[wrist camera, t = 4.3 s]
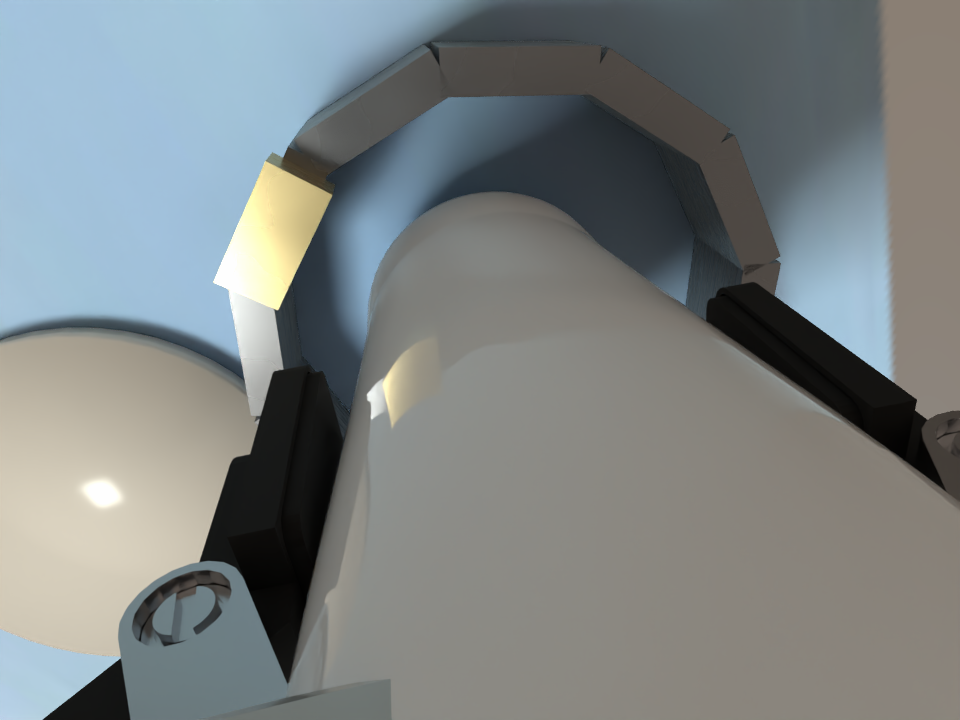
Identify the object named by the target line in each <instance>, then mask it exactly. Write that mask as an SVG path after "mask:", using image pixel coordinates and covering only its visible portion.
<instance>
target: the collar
mask: <svg viewBox="0 0 960 720" xmlns="http://www.w3.org/2000/svg"><path fill="white" fill-rule="evenodd" d="M430 44H431V50H430V49H429V48H427V47H426V46H425V45H424V44H422V45H421V46H419V47H418V48H416V49H415V50H413V51H412V52H410V53H409V54H407V55H406V56H404V57H403V58H401V59H400V60H398V61H397V62H395V63H394V64H392V65H391V66H389V67H388V68H386V69H384V70H383V71H381V72H380V73H378V74H377V75H375V76H374V77H372V78H371V79H369V80H368V81H366V82H365V83H363V84H362V85H360V86H359V87H357V88H356V89H354V90H353V91H351V92H350V93H348V94H347V95H345V96H344V97H342V98H341V99H339V100H338V101H336V102H335V103H333V104H332V105H330V106H329V107H327V108H326V109H324V110H322V111H321V112H319V113H318V114H316V115H315V116H313V117H312V118H310V119H309V120H308V121H307V122H306V123H305V125H304V126H303V127H302V128H301V129H300V131H299V132H298V134H297V135H296V136H295V138H294V139H293V141H292V142H291V143H290V145H289V146H288V148H287V150H286V153H285V155H284V157H283V158H282V157H280V156H278V155H277V154H275V153H273V152H272V154H271V155H270V156H269V157H268V159H267V160H266V161H265V163H264V166H263V168H262V170H261V173H260V175H259V177H258V180H257V182H256V184H255V187H254V189H253V191H252V194H251V196H250V198H249V201H248V203H247V205H246V208H245V210H244V212H243V215H242V217H241V219H240V222H239V224H238V226H237V229H236V231H235V233H234V236H233V238H232V240H231V243H230V245H229V247H228V250H227V252H226V254H225V257H224V259H223V261H222V264H221V266H220V268H219V271H218V273H217V275H216V278H215V280H214V283H216V284H218V285H221V286H223V287H225V288H228V292H229V297H230V303H231V308H232V314H233V319H234V325H235V330H236V335H237V341H238V346H239V352H240V357H241V363H242V368H243V374H244V379H245V385H246V390H247V396H248V401H249V407H250V412H251V416H256V418H255V421H254V422H255V423H256V425H257V426H258V424H259V420H260V417H261V413H262V409H263V406H264V402H265V399H266V395H267V391H268V388H269V384H270V381H271V377H272V374H273V372H274V371H278V370H283V369H289V368H294V367H299V366H305V365H308V366H309V367H310V368H311V371H312V373H315V371H314V370H313V368H312V367H311V366H310V365H309V363H308V362H307V361H306V360H305V359H304V357H303V356H302V353H301V345H300V338H299V331H298V323H297V316H296V309H295V301H294V294H293V287H292V280H293V277H294V275H295V273H296V271H297V269H298V267H299V265H300V263H301V261H302V258H303V256H304V254H305V252H306V250H307V248H308V246H309V244H310V242H311V240H312V237H313V235H314V233H315V231H316V229H317V227H318V225H319V223H320V221H321V218H322V216H323V214H324V212H325V210H326V208H327V206H328V204H329V202H330V199H331V197H332V195H333V192H334V188H335V184H333V183H331V182H329V181H327V180H325V179H326V177H327V175H328V174H330V173H331V172H333V171H335V170H336V169H338V168H339V167H341V166H342V165H344V164H345V163H347V162H349V161H350V160H352V159H353V158H355V157H356V156H358V155H359V154H361V153H362V152H364V151H366V150H367V149H369V148H370V147H372V146H373V145H375V144H376V143H378V142H379V141H381V140H383V139H384V138H386V137H387V136H389V135H390V134H392V133H393V132H395V131H397V130H398V129H400V128H401V127H403V126H404V125H406V124H407V123H409V122H410V121H412V120H414V119H415V118H417V117H418V116H420V115H421V114H423V113H424V112H426V111H428V110H429V109H431V108H432V107H434V106H435V105H437V104H438V103H440V102H441V101H443V100H445V99H446V98H448V97H483V96H535V95H581V96H582V97H584V98H586V99H587V100H589V101H590V102H592V103H593V104H595V105H597V106H598V107H600V108H601V109H603V110H604V111H606V112H608V113H609V114H611V115H612V116H614V117H615V118H617V119H619V120H620V121H622V122H623V123H625V124H626V125H628V126H630V127H631V128H633V129H634V130H636V131H638V132H639V133H641V134H642V135H644V136H645V137H647V138H649V139H650V140H652V141H653V142H654V143H655V145H656V148H657V150H658V152H659V155H660V157H661V159H662V161H663V164H664V166H665V168H666V171H667V173H668V175H669V177H670V180H671V182H672V184H673V186H674V189H675V191H676V193H677V196H678V198H679V200H680V202H681V205H682V207H683V209H684V212H685V214H686V216H687V218H688V221H689V223H690V225H691V228H692V230H693V232H694V234H695V242H694V249H693V256H692V263H691V271H690V278H689V285H688V292H687V299H686V307H688V308H689V309H691V310H692V311H693V312H695V313H696V314H698V315H699V316H700V317H702V318H703V319H705V320H706V307H707V302H708V300H709V299H710V298H715V297H716V293H717V291H718V290H719V289H720V288H723V287H728V286H734V285H739V284H744V283H750V282H755V283H757V284H759V285H760V286H761V287H763V288H764V289H766V290H767V291H768V292H770V293H771V294H772V295H774V294H775V290H776V285H777V280H778V275H779V270H780V265H781V263H780V262H778V261H777V260H775V259H776V258H778V257H780V254H779V251H778V248H777V246H776V243H775V241H774V238H773V235H772V233H771V230H770V227H769V225H768V222H767V219H766V217H765V214H764V211H763V209H762V206H761V203H760V201H759V198H758V195H757V193H756V190H755V187H754V185H753V182H752V180H751V177H750V174H749V172H748V169H747V166H746V164H745V161H744V158H743V156H742V153H741V150H740V148H739V145H738V142H737V140H736V137H735V135H733V134H730V133H728V131H729V130H730V129H729V128H728V127H726V126H725V125H723V124H722V123H720V122H719V121H717V120H716V119H714V118H713V117H711V116H710V115H708V114H707V113H705V112H704V111H703V110H701V109H700V108H698V107H697V106H695V105H694V104H692V103H691V102H689V101H688V100H686V99H685V98H683V97H682V96H680V95H679V94H677V93H676V92H674V91H673V90H671V89H670V88H668V87H667V86H665V85H664V84H662V83H661V82H659V81H658V80H656V79H655V78H653V77H652V76H650V75H649V74H648V73H646V72H645V71H643V70H642V69H640V68H639V67H637V66H636V65H634V64H633V63H631V62H630V61H628V60H627V59H625V58H624V57H622V56H621V55H619V54H618V53H616V52H615V51H613V50H612V49H610V48H607V47H601V45H595V44H588V43H582V42H575V41H569V40H549V41H452V42H430ZM329 391H330V395H331V398H332V402H333V405H334V409H335V412H336V416H337V419H338V423H339V426H340V430H341V433H342V437H343V440H344V436H345V431H346V427H347V423H348V418H349V414H350V413H349V412H348V411H347V409H346V408H345V407H344V406H343V405H342V403H341V402H340V401H339V400H338V399H337V397H336V396H335V395H334V394H333V393H332V391H331V390H330V389H329Z"/></svg>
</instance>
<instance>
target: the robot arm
mask: <svg viewBox="0 0 960 720" xmlns="http://www.w3.org/2000/svg"><path fill="white" fill-rule="evenodd" d="M706 321H708V322H709V323H710V324H712V325H713V326H715V327H716V328H718V329H719V330H720V331H722V332H723V333H725V334H726V335H728V336H729V337H731V338H732V339H733V340H735V341H736V342H738V343H739V344H741V345H742V346H743V347H745V348H746V349H748V350H749V351H751V352H752V353H753V354H755V355H756V356H758V357H759V358H761V359H762V360H763V361H765V362H766V363H768V364H769V365H771V366H772V367H774V368H775V369H776V370H778V371H779V372H781V373H782V374H784V375H785V376H786V377H788V378H789V379H791V380H792V381H794V382H795V383H796V384H798V385H799V386H801V387H802V388H804V389H805V390H806V391H808V392H809V393H811V394H812V395H814V396H815V397H816V398H818V399H819V400H821V401H822V402H824V403H825V404H826V405H828V406H829V407H831V408H832V409H834V410H835V411H836V412H838V413H839V414H841V415H842V416H843V417H845V418H846V419H848V420H849V421H850V422H852V423H853V424H855V425H856V426H857V427H859V428H860V429H862V430H863V431H864V432H866V433H867V434H869V435H870V436H871V437H873V438H874V439H876V440H877V441H878V442H880V443H881V444H883V445H884V446H885V447H887V448H888V449H889V450H891V451H892V452H894V453H895V454H896V455H898V456H899V457H901V458H902V459H903V460H905V461H906V462H908V463H909V464H910V465H912V466H913V467H914V468H916V469H917V470H918V471H919V472H921V473H922V474H923V475H925V476H926V477H927V478H929V479H930V480H931V481H933V482H934V483H935V484H937V485H938V486H939V487H941V488H942V489H943V490H945V491H946V492H947V493H949V494H950V495H951V496H953V497H954V498H955V499H957V500H958V501H959V502H960V411H950V412H946V413H942V414H938V415H936V416H934V417H932V418H930V419H929V420H927V419H926V418H924V417H923V416H922V415H920V414H919V413H918V412H916V411H915V406H916V402H917V399H915V398H914V397H912V396H911V395H910V394H908V393H907V392H906V391H904V390H903V389H902V388H900V387H899V386H897V385H896V384H895V383H893V382H892V381H891V380H889V379H888V378H886V377H885V376H884V375H882V374H881V373H880V372H878V371H877V370H875V369H874V368H873V367H871V366H870V365H869V364H867V363H866V362H864V361H863V360H862V359H860V358H859V357H858V356H856V355H855V354H853V353H852V352H851V351H849V350H848V349H847V348H845V347H844V346H842V345H841V344H840V343H838V342H837V341H836V340H834V339H833V338H832V337H830V336H829V335H827V334H826V333H825V332H823V331H822V330H821V329H819V328H818V327H816V326H815V325H814V324H812V323H811V322H810V321H808V320H807V319H805V318H804V317H803V316H801V315H800V314H799V313H797V312H796V311H794V310H793V309H792V308H790V307H789V306H788V305H786V304H785V303H783V302H782V301H781V300H779V299H778V298H777V297H775V296H774V295H772V294H771V293H770V292H768V291H767V290H766V289H764V288H763V287H761V286H760V285H759V284H757V283H755V282H750V283H744V284H739V285H734V286H728V287H723V288H720V289H719V290H718V291H717V293H716V297H715V298H710V299H709V300H708V302H707V307H706ZM342 445H343V437H342V433H341V430H340V426H339V423H338V419H337V416H336V412H335V409H334V405H333V402H332V398H331V395H330V391H329V388H328V384H327V381H326V378H325V375H324V373H323V371H320V372H315V373H312V371H311V368H310V367H309V366H308V365H305V366H299V367H294V368H289V369H283V370H278V371H274V372H273V374H272V377H271V381H270V384H269V388H268V391H267V395H266V399H265V402H264V406H263V409H262V413H261V417H260V420H259V424H258V427H257V431H256V435H255V438H254V442H253V445H252V449H251V453H250V454H249V455H243V456H238V457H235V458H233V460H232V462H231V464H230V466H229V469H228V472H227V476H226V479H225V482H224V485H223V488H222V491H221V495H220V498H219V501H218V504H217V507H216V510H215V514H214V517H213V520H212V523H211V526H210V529H209V533H208V536H207V539H206V542H205V545H204V548H203V552H202V555H201V558H200V561H199V562H198V563H192V564H189V565H186V566H183V567H180V568H178V569H175V570H172V571H171V572H169V573H167V574H165V575H164V576H162V577H160V578H158V579H156V580H155V581H153V582H152V583H151V584H150V585H149V586H147V587H146V588H145V589H144V590H142V591H141V592H140V593H139V594H138V595H137V596H136V597H135V599H134V600H133V601H132V602H131V603H130V605H129V606H128V607H127V608H126V610H125V612H124V614H123V616H122V618H121V620H120V623H119V630H118V642H119V648H120V655H121V659H119V660H118V661H117V662H115V663H114V664H113V665H112V666H110V667H109V668H108V669H107V670H105V671H104V672H103V673H101V674H100V675H99V676H98V677H96V678H95V679H94V680H93V681H91V682H90V683H89V684H87V685H86V686H85V687H84V688H82V689H81V690H80V691H78V692H77V693H76V694H75V695H73V696H72V697H71V698H70V699H68V700H67V701H66V702H64V703H63V704H62V705H61V706H59V707H58V708H57V709H56V710H54V711H53V712H52V713H50V714H49V715H48V716H47V717H45V718H44V719H43V720H392V717H391V679H385V680H372V681H365V682H356V683H351V684H346V685H341V686H336V687H332V688H327V689H323V690H318V691H313V692H309V693H304V694H300V695H295V696H291V697H286V698H285V696H286V690H287V686H288V681H289V677H290V672H291V667H292V663H293V658H294V654H295V649H296V645H297V640H298V635H299V631H300V626H301V622H302V617H303V613H304V608H305V604H306V600H307V595H308V591H309V587H310V582H311V578H312V574H313V569H314V565H315V561H316V556H317V552H318V548H319V544H320V539H321V535H322V531H323V526H324V522H325V518H326V513H327V509H328V505H329V501H330V496H331V492H332V488H333V483H334V479H335V475H336V471H337V466H338V462H339V458H340V453H341V449H342Z"/></svg>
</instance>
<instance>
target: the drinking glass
mask: <svg viewBox="0 0 960 720" xmlns="http://www.w3.org/2000/svg"><path fill="white" fill-rule="evenodd" d="M385 679H391V717H392V720H960V502H959V501H958V500H957V499H955V498H954V497H953V496H951V495H950V494H949V493H947V492H946V491H945V490H943V489H942V488H941V487H939V486H938V485H937V484H935V483H934V482H933V481H931V480H930V479H929V478H927V477H926V476H925V475H923V474H922V473H921V472H919V471H918V470H917V469H916V468H914V467H913V466H912V465H910V464H909V463H908V462H906V461H905V460H903V459H902V458H901V457H899V456H898V455H896V454H895V453H894V452H892V451H891V450H889V449H888V448H887V447H885V446H884V445H883V444H881V443H880V442H878V441H877V440H876V439H874V438H873V437H871V436H870V435H869V434H867V433H866V432H864V431H863V430H862V429H860V428H859V427H857V426H856V425H855V424H853V423H852V422H850V421H849V420H848V419H846V418H845V417H843V416H842V415H841V414H839V413H838V412H836V411H835V410H834V409H832V408H831V407H829V406H828V405H826V404H825V403H824V402H822V401H821V400H819V399H818V398H816V397H815V396H814V395H812V394H811V393H809V392H808V391H806V390H805V389H804V388H802V387H801V386H799V385H798V384H796V383H795V382H794V381H792V380H791V379H789V378H788V377H786V376H785V375H784V374H782V373H781V372H779V371H778V370H776V369H775V368H774V367H772V366H771V365H769V364H768V363H766V362H765V361H763V360H762V359H761V358H759V357H758V356H756V355H755V354H753V353H752V352H751V351H749V350H748V349H746V348H745V347H743V346H742V345H741V344H739V343H738V342H736V341H735V340H733V339H732V338H731V337H729V336H728V335H726V334H725V333H723V332H722V331H720V330H719V329H718V328H716V327H715V326H713V325H712V324H710V323H709V322H708V321H706V320H705V319H703V318H702V317H700V316H699V315H698V314H696V313H695V312H693V311H692V310H691V309H689V308H688V307H686V306H685V305H683V304H682V303H681V302H679V301H678V300H676V299H675V298H674V297H672V296H671V295H669V294H668V293H666V292H665V291H664V290H662V289H661V288H659V287H658V286H657V285H655V284H654V283H652V282H651V281H650V280H648V279H647V278H645V277H644V276H643V275H641V274H640V273H638V272H637V271H636V270H634V269H633V268H631V267H630V266H629V265H627V264H626V263H624V262H623V261H622V260H620V259H619V258H618V257H616V256H615V255H613V254H612V253H611V252H609V251H608V250H607V249H605V248H604V247H603V246H601V245H600V244H599V243H598V242H597V241H596V240H595V239H594V238H593V237H592V236H591V235H590V234H589V233H588V232H587V231H586V230H585V229H584V228H583V227H582V226H581V225H580V224H579V223H578V222H577V221H576V220H575V219H573V218H572V217H571V216H569V215H568V214H567V213H565V212H564V211H562V210H560V209H559V208H557V207H555V206H554V205H552V204H550V203H547V202H545V201H543V200H540V199H537V198H534V197H531V196H528V195H523V194H519V193H512V192H499V191H490V192H479V193H473V194H468V195H464V196H460V197H457V198H454V199H451V200H449V201H446V202H443V203H441V204H439V205H437V206H435V207H433V208H431V209H430V210H428V211H427V212H425V213H424V214H422V215H420V216H419V217H418V218H417V219H415V220H414V221H413V222H412V223H410V224H409V225H408V226H407V227H406V228H405V229H404V230H403V231H402V232H401V233H400V234H399V235H398V237H397V238H396V239H395V240H394V241H393V243H392V244H391V246H390V247H389V248H388V250H387V251H386V253H385V255H384V257H383V258H382V260H381V262H380V264H379V266H378V269H377V271H376V273H375V276H374V280H373V283H372V286H371V291H370V296H369V303H368V318H367V336H366V340H365V345H364V350H363V355H362V359H361V364H360V369H359V373H358V378H357V382H356V387H355V391H354V396H353V400H352V405H351V409H350V414H349V418H348V423H347V427H346V431H345V436H344V440H343V445H342V449H341V453H340V458H339V462H338V466H337V471H336V475H335V479H334V483H333V488H332V492H331V496H330V501H329V505H328V509H327V513H326V518H325V522H324V526H323V531H322V535H321V539H320V544H319V548H318V552H317V556H316V561H315V565H314V569H313V574H312V578H311V582H310V587H309V591H308V595H307V600H306V604H305V608H304V613H303V617H302V622H301V626H300V631H299V635H298V640H297V645H296V649H295V654H294V658H293V663H292V667H291V672H290V677H289V681H288V686H287V690H286V696H285V698H286V697H291V696H295V695H300V694H304V693H309V692H313V691H318V690H323V689H327V688H332V687H336V686H341V685H346V684H351V683H356V682H365V681H372V680H385Z"/></svg>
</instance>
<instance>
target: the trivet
mask: <svg viewBox="0 0 960 720" xmlns="http://www.w3.org/2000/svg"><path fill="white" fill-rule="evenodd" d="M255 418H256V416H251V412H250V407H249V401H248V396H247V390H246V385H245V381H244V380H243V379H242V378H240V377H239V376H238V375H236V374H235V373H233V372H231V371H230V370H228V369H227V368H225V367H223V366H222V365H220V364H218V363H217V362H215V361H213V360H211V359H209V358H207V357H205V356H203V355H201V354H199V353H196V352H194V351H192V350H190V349H188V348H186V347H183V346H180V345H177V344H174V343H171V342H168V341H165V340H162V339H159V338H156V337H151V336H147V335H142V334H138V333H133V332H129V331H122V330H113V329H105V328H84V327H65V328H56V329H47V330H38V331H33V332H28V333H24V334H20V335H16V336H11V337H7V338H5V339H2V340H0V629H2V630H4V631H6V632H9V633H11V634H14V635H17V636H19V637H22V638H24V639H27V640H29V641H33V642H36V643H40V644H43V645H46V646H50V647H53V648H57V649H62V650H67V651H72V652H77V653H84V654H93V655H102V656H121V655H120V648H119V642H118V630H119V623H120V620H121V618H122V616H123V614H124V612H125V610H126V608H127V607H128V606H129V605H130V603H131V602H132V601H133V600H134V599H135V597H136V596H137V595H138V594H139V593H140V592H141V591H142V590H144V589H145V588H146V587H147V586H149V585H150V584H151V583H152V582H153V581H155V580H156V579H158V578H160V577H162V576H164V575H165V574H167V573H169V572H171V571H172V570H175V569H178V568H180V567H183V566H186V565H189V564H192V563H198V562H199V561H200V558H201V555H202V552H203V548H204V545H205V542H206V539H207V536H208V533H209V529H210V526H211V523H212V520H213V517H214V514H215V510H216V507H217V504H218V501H219V498H220V495H221V491H222V488H223V485H224V482H225V479H226V476H227V472H228V469H229V466H230V464H231V462H232V460H233V458H235V457H238V456H243V455H249V454H250V453H251V449H252V445H253V442H254V438H255V435H256V431H257V427H258V426H257V425H256V423H255V422H254V421H255Z"/></svg>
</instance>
